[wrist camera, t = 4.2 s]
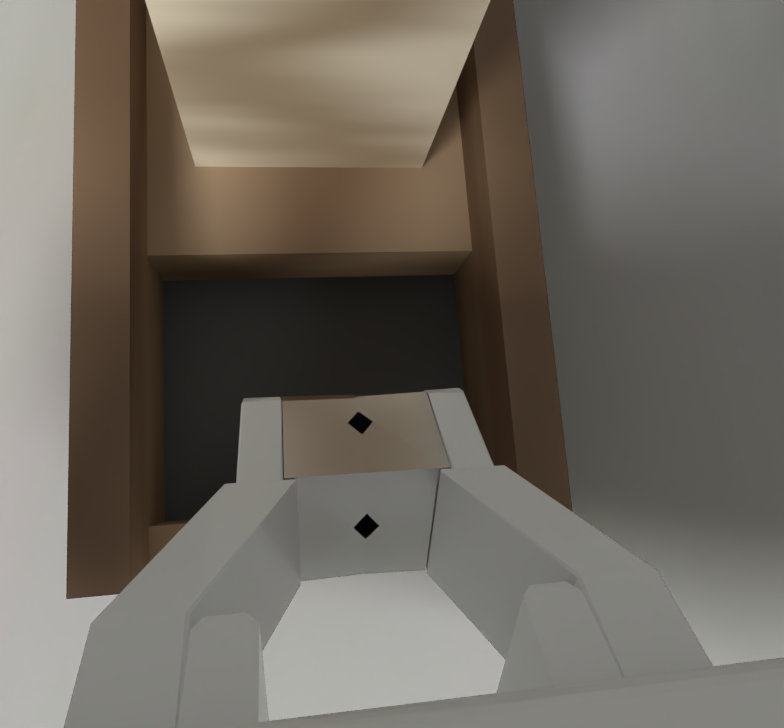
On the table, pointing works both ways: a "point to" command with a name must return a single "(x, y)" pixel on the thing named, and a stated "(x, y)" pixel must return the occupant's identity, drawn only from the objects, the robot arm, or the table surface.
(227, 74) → the birch block
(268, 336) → the walled track
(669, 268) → the table surface
